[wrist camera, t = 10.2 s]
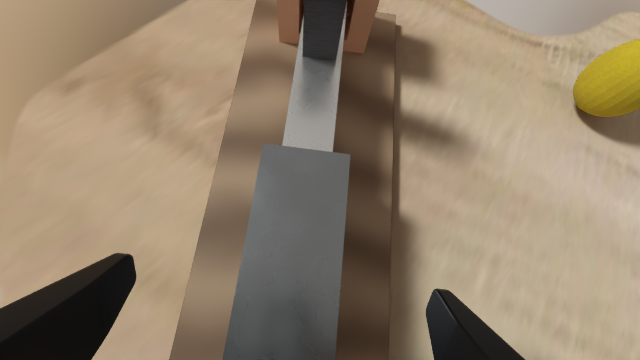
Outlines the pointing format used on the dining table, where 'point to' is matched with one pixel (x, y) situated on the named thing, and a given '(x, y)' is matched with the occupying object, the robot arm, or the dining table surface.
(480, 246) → the dining table surface
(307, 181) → the sleeve
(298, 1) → the socket block
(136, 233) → the dining table surface
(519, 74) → the dining table surface
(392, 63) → the base board
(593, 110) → the lemon
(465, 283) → the dining table surface
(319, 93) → the tube
